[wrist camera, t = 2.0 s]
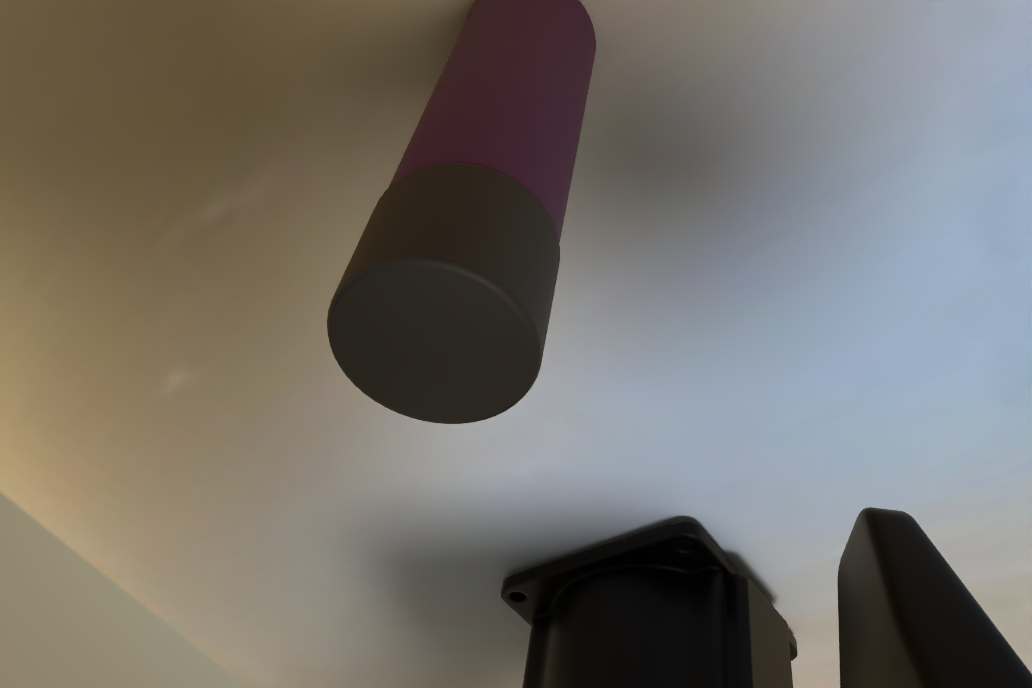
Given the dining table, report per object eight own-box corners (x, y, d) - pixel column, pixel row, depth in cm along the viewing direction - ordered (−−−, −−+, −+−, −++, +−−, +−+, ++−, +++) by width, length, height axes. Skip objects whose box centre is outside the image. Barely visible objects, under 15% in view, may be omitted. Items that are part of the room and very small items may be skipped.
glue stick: (514, 129, 18) (418, 450, 12) (434, 22, 17) (280, 316, 11) (624, 63, 17) (583, 381, 11) (546, -56, 16) (448, 223, 10)
